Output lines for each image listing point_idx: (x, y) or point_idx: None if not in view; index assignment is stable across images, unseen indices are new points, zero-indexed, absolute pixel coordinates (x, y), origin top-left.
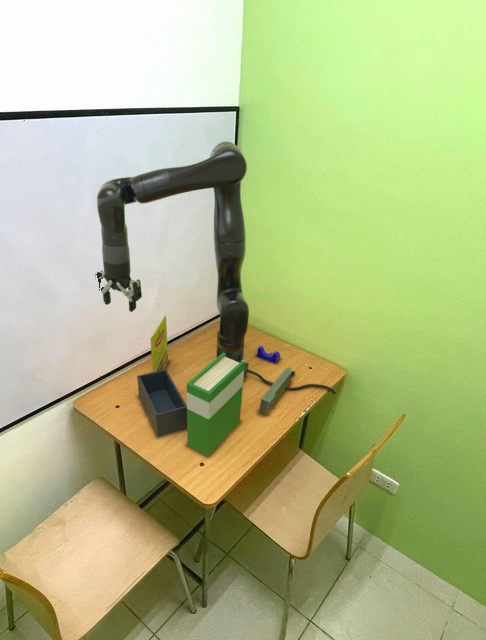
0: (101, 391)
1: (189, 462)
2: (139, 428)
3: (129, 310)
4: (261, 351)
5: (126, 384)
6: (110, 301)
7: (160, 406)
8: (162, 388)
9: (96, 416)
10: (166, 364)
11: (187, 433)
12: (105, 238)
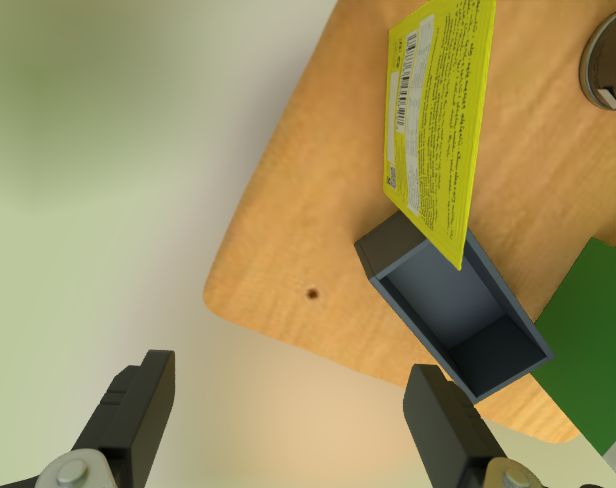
0: (240, 255)
1: (523, 388)
2: (394, 341)
3: (408, 420)
4: None
5: (295, 205)
6: (171, 359)
7: (429, 273)
8: None
9: (278, 337)
10: (389, 56)
11: (539, 383)
12: None
